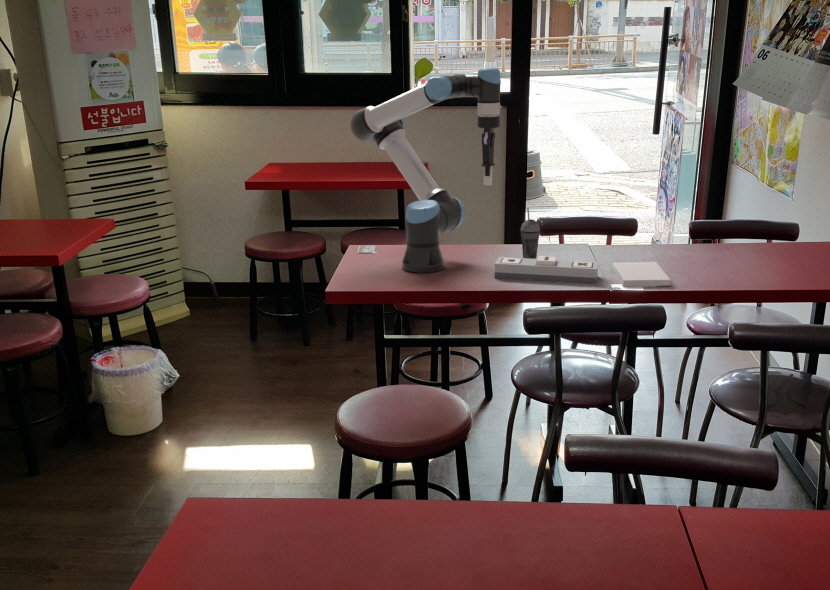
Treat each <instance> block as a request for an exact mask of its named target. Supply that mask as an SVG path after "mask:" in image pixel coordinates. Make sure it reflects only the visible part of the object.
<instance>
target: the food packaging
mask: <svg viewBox="0 0 830 590" xmlns="http://www.w3.org/2000/svg"><path fill="white" fill-rule="evenodd" d="M611 266H612V270H613V274H614V276H615V277H616V278H617V280H618V281H619V283H620V284H621V286H622V287H623V288H657V287H658V288H659V287H663V286H664V287H665V286H671V279H670V277H669V276H668V275H667V273H665V271H664V269H662V267H661V266H660V264H658V262H657V261H638V262H637V261H633V262H631V261H627V262H626V261H625V262H612V263H611Z"/></svg>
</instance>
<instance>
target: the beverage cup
mask: <svg viewBox="0 0 830 590" xmlns="http://www.w3.org/2000/svg"><path fill="white" fill-rule="evenodd" d="M529 209H530V208H529V207H526V210H527V211H526V212H527V220H525V221H524V222H523V223H522V224H521V227H520V230H519V231H520V237H521V246H522V258H528V259H537V258H538V248H539V238H540V235H541V231H542V230H541V227H540V224H539V223H538V222H537V220H535V219H530V210H529Z"/></svg>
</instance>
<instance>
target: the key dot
mask: <svg viewBox="0 0 830 590" xmlns="http://www.w3.org/2000/svg"><path fill="white" fill-rule="evenodd" d="M515 258H516V257H509V258H504V259H503V260H502V262H501V263H507V264H520V263H521V259H515Z"/></svg>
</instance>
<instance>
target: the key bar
mask: <svg viewBox="0 0 830 590" xmlns="http://www.w3.org/2000/svg"><path fill="white" fill-rule="evenodd" d="M536 259H537V265H544V266H556V260H557V256H548V255H547V256H546V255H538V256H537V258H536Z"/></svg>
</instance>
